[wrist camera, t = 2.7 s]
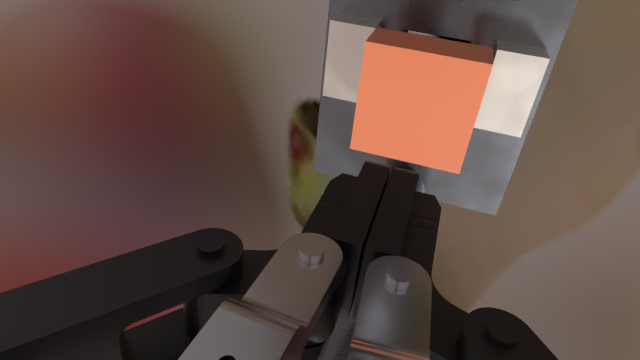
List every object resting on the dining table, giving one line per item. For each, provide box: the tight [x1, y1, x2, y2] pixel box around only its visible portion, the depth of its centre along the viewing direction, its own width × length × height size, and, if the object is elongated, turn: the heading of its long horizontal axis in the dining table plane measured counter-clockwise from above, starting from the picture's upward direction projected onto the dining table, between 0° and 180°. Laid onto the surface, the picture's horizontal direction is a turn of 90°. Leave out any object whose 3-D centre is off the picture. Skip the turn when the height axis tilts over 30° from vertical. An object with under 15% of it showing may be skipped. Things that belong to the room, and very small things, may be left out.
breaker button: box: [350, 27, 493, 174], centre depth 19 cm, size 4×4×4 cm
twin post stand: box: [313, 0, 578, 360], centre depth 17 cm, size 16×10×15 cm, turn 175°
